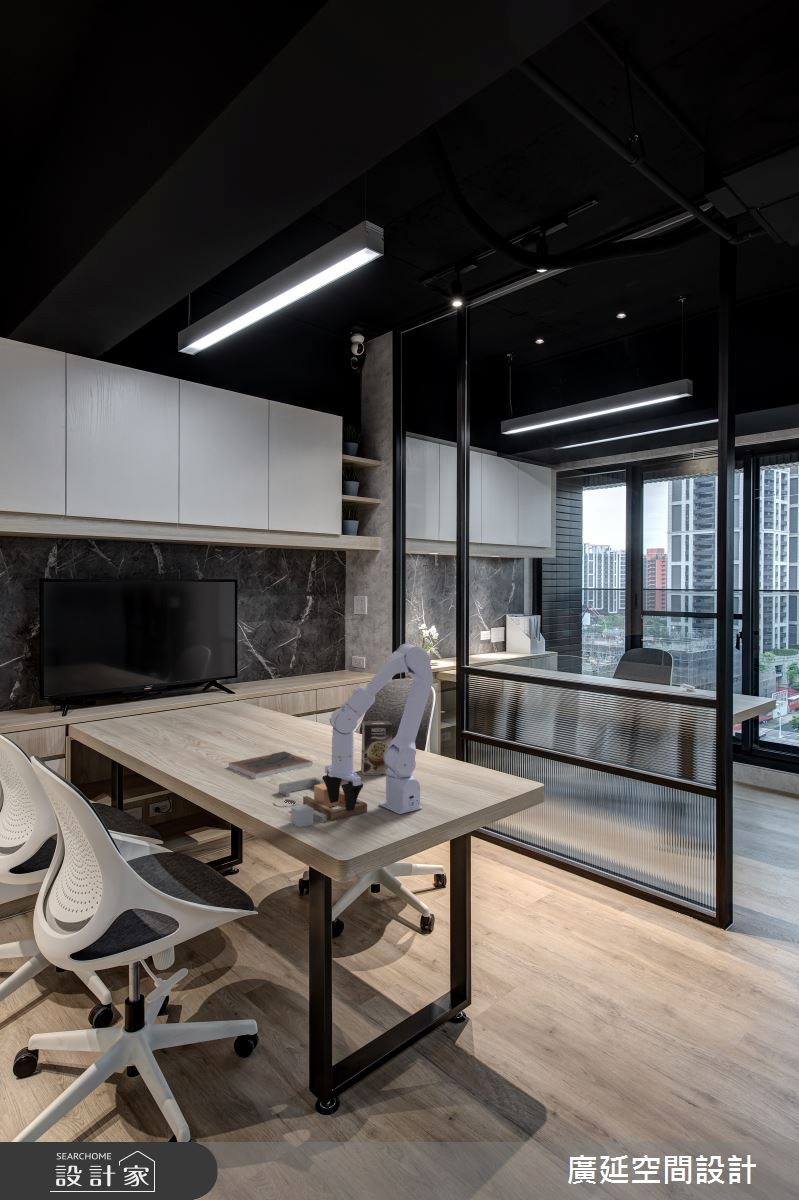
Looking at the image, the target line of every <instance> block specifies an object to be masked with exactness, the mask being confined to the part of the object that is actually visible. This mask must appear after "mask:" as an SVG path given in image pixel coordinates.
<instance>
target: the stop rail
mask: <svg viewBox="0 0 799 1200" xmlns="http://www.w3.org/2000/svg"><path fill="white" fill-rule="evenodd" d="M319 784H324V781H323V779H320V778H318V777H316V776H315V777H310V778H305V779H298V780H295V781H288V782H284V783H280V784H278V793H279V794H281V795H282V794H283V796H284V795H285V796H284V797H286V796H287V797H290V796H291V795H290V793H292V791H293V792H297V790H298V791H303V790H308V789H312V788H311V787H313V788H314V785H319ZM307 788H308V789H307ZM302 789H303V790H302Z"/></svg>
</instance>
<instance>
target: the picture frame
mask: <svg viewBox="0 0 799 1200" xmlns="http://www.w3.org/2000/svg"><path fill="white" fill-rule="evenodd" d="M313 763H314V762H313V761H312V760H309V759H307V758H304V757H300V756H298V755H295V754H293V753H290V752H288V751H285V750H284V751H280V752H274V753H271V754H268V755H262V756H256V757H251V758H246V759H242V760H237V761H231V762H228V768H229V769H231V770H233V769H234V770H233V771H235V772H238V771H239V772H238V773H240V772H242V773H241V774H243V773H244V774H243V775H245V774H246V775H245V776H248V775H249V776H248V777H250V776H251V777H250V778H252V779H255V778H257V779H260V778H261V777H262V778H266V777H270V776H269V775H271V776H274V775H273V774H275V775H279V774H278V773H280V774H283V773H282V772H284V773H287V772H286V771H289V772H292V771H291V770H293V771H296V770H295V769H298V770H300V769H299V768H302V769H304V768H303V767H307V768H309V767H308V766H311V767H313V766H312V765H313ZM265 776H266V777H265ZM262 778H261V779H262Z"/></svg>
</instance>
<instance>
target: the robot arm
mask: <svg viewBox="0 0 799 1200" xmlns="http://www.w3.org/2000/svg"><path fill="white" fill-rule="evenodd" d="M431 662H432V658H431V656H430V654H429V653H428V651H427V650H426V649H425V648H424V647H422V646H417V645H413V644H411V643H403V644H401V645H399V647H398V648H397V649H396V650H395V651H393V652H392V653H391V655H390V656H389V658H388V659H387V660H386V661H385V663H384V664H383V665H382V666H381V667H380V669H378V671H377V672H376V673H375V675H373V677H372V678H371V679H370V681H369V682H367V684H366V685H365V686H359V687H358V688H357V689H356V688H353V690H352V691H351V693H352V694H351V695H350V697H348V699H347V700H346V701H345V702H344V703H341V704H340V705H339V707H338V708H337V709H335V710H333V712H332V713H331V717H330V718H329V724H330V725H331V727H332V736H331V764H329V765H325V766H324V773H325V774H326V775H323V776H321V777H322V778H321V780H322V781H323V784H324V783H325V785H326V787H327V791H328V795H329V799H330V803H334V802H338V799H339V790H340V788H341V789H342V792H344V796H345V803H344V804H345V806H344V807H346V811H352V810H354V808H355V805H356V801H357V799H358V797H359V794H360V792H361V791H362V789H363V787H364V783H362V777H360V775H358V774H357V772H356V771H355V770H354V752H355V751H354V748H355V747H354V743H355V740H354V730H355V729H356V728H357V725H358V720H360V719H361V717H363V715H364V714H365V713H366V712H367V711H368V710H369V709H370V707H371V706H373V704H374V703H375V701H376V695H377V693H379V691H380V690H381V689H383V687H384V686H385V685H387V684H388V683H389V681H390V680H391V679H393V678H394V676H395V675H397V674H401V673H408V674H409V676H410V678H411V679H412V682H411V683H412V684H411V687H410V690H409V694H408V696H407V700H406V703H405V706H404V709H403V713H402V716H401V720H400V723H399V727H398V728H397V732H396V735H395V736H394V737H393V738H392V741H391V744H390V746H389V748H388V749H387V750H386V751H385V753H384V762H385V764H386V765H387V770H386V774H385V801H382V802H379V803H378V805H379V806H380V807H383V808H385V809H387V810H389V811H391V812H394V813H395V814H398V815H402V814H405V813H409V812H410V813H411V812H415V811H418V810H422V809H423V806H421V785H420V783H419V781H418V780H416V779H415V777H414V775H413V773H414V771H415V769H416V766H417V765H416V764H417V763H416V755H417V748H416V739H417V736H418V733H419V729H420V726H421V722H422V721H423V720H422V719H423V716H424V712H425V710H426V706H427V703H428V701H429V700H428V699H429V697H430V693H431V689H432V686H433V684H434V683H433V682H434V675H433V670H432V665H431V664H432V663H431ZM342 780H343V781H345V782H347V783H343V784H342ZM340 791H341V790H340Z"/></svg>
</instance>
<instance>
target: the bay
mask: <svg viewBox="0 0 799 1200" xmlns="http://www.w3.org/2000/svg"><path fill="white" fill-rule="evenodd" d="M339 802H341V803H343V804H345V796H344V792H343V790H340V792H339ZM304 804H306V805H308V806H310V807H311V808H313V810H316V811H318V812H321V813H324V814H326V815H327V820H330V821H336V820H340V819H344V818H348V817H353V816H356V815H360V814H364V813H365V814H366V813H367V812H368V803H366V802H365V801H362V800H361V799H358V798H357V801H356V805H355V808H354V810H352V811H346V807H345V806H344V807H339V808H335V809H333V808H332V807H327V806H325V805H323V804H321V803H320V802H318V801H316V800H314V798H312V797H310V796H308V795H306V796H303V798H302V805H304Z"/></svg>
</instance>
